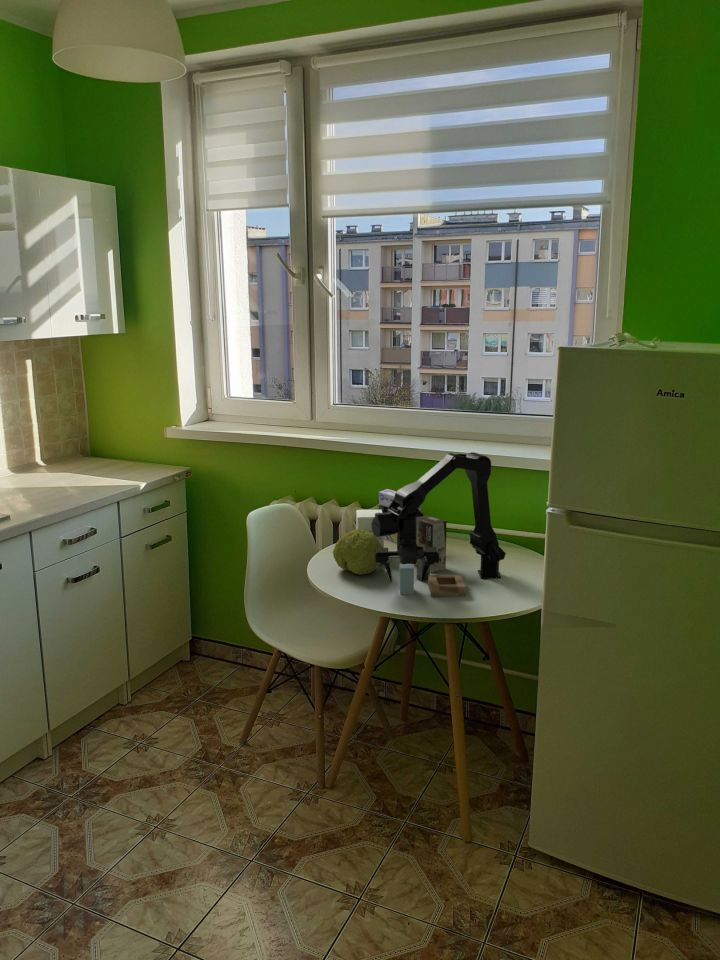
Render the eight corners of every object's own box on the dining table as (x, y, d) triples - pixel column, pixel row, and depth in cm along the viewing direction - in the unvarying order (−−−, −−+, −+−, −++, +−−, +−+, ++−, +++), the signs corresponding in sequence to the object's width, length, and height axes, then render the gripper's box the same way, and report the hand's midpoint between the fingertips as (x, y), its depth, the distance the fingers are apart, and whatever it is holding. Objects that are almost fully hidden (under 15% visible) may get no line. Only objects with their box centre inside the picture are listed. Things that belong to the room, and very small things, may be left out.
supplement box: (356, 551, 266) (355, 509, 262) (382, 550, 266) (382, 508, 263) (357, 560, 257) (356, 517, 253) (384, 559, 257) (384, 516, 254)
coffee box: (446, 568, 249) (447, 520, 245) (432, 573, 245) (433, 524, 241) (427, 561, 256) (427, 514, 252) (412, 565, 252) (413, 518, 248)
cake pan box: (377, 536, 281) (377, 489, 277) (387, 533, 284) (387, 487, 280) (412, 550, 267) (412, 500, 262) (423, 547, 270) (423, 498, 265)
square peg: (399, 588, 233) (399, 563, 231) (412, 588, 233) (412, 563, 231) (400, 593, 229) (400, 568, 227) (413, 593, 229) (413, 568, 227)
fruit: (324, 576, 243) (322, 529, 246) (352, 580, 254) (350, 535, 258) (366, 570, 233) (363, 521, 237) (392, 574, 244) (390, 527, 248)
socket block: (428, 584, 236) (428, 575, 235) (460, 583, 236) (461, 574, 235) (431, 597, 226) (431, 587, 225) (465, 596, 226) (465, 587, 225)
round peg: (415, 576, 243) (416, 552, 241) (429, 575, 243) (429, 551, 241) (417, 581, 238) (417, 556, 237) (430, 580, 239) (431, 556, 237)
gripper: (376, 541, 218) (376, 592, 222) (441, 540, 219) (441, 591, 222) (374, 529, 229) (374, 578, 233) (437, 528, 229) (436, 577, 233)
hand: (406, 581), depth 230 cm, fingers open, 9 cm apart
